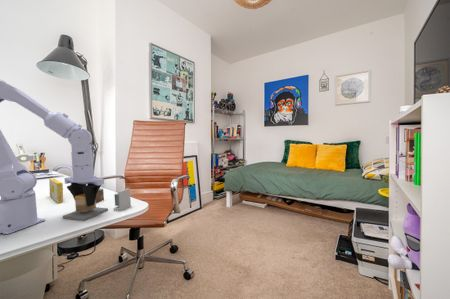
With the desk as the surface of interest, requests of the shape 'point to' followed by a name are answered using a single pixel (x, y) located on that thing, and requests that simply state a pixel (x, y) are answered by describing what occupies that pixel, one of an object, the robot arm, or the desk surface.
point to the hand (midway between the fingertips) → (85, 205)
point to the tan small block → (83, 203)
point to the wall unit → (122, 200)
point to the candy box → (56, 190)
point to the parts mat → (85, 214)
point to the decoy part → (100, 195)
